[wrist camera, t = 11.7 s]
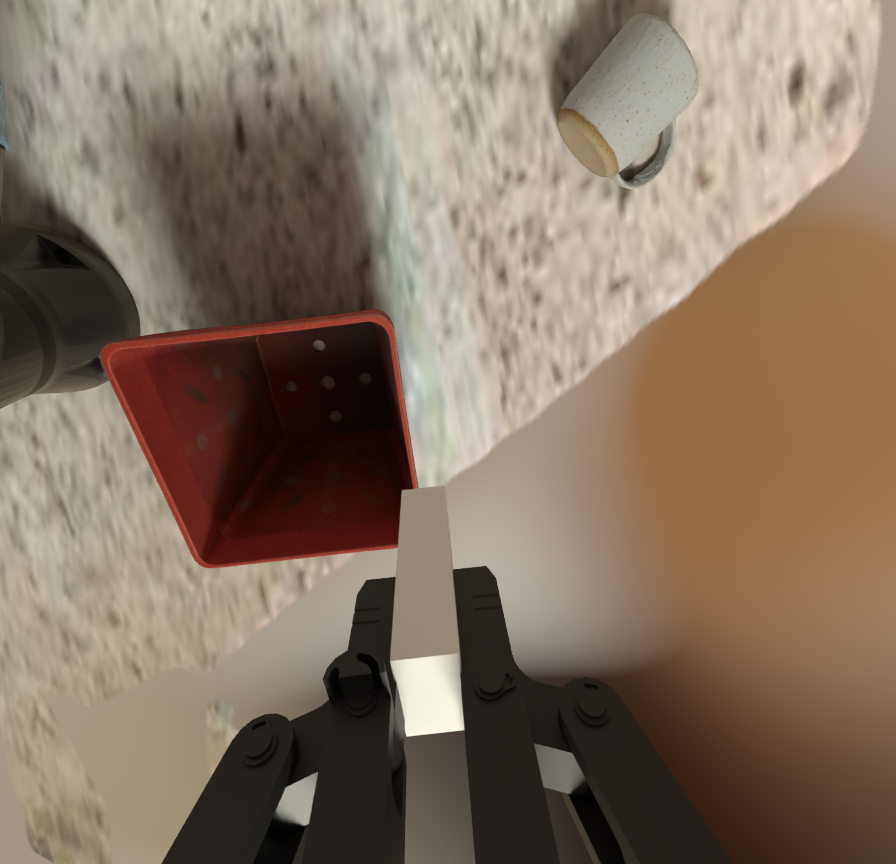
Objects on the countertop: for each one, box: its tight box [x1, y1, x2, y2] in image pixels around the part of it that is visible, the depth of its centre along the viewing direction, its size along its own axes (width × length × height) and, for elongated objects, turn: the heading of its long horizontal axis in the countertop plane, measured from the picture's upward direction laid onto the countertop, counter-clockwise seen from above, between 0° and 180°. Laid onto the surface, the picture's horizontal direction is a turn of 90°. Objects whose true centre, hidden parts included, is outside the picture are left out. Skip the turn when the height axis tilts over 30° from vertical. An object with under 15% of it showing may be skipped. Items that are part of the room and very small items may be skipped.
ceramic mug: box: [557, 13, 698, 189], centre depth 35 cm, size 11×8×8 cm
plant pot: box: [100, 309, 419, 568], centre depth 39 cm, size 19×19×17 cm
